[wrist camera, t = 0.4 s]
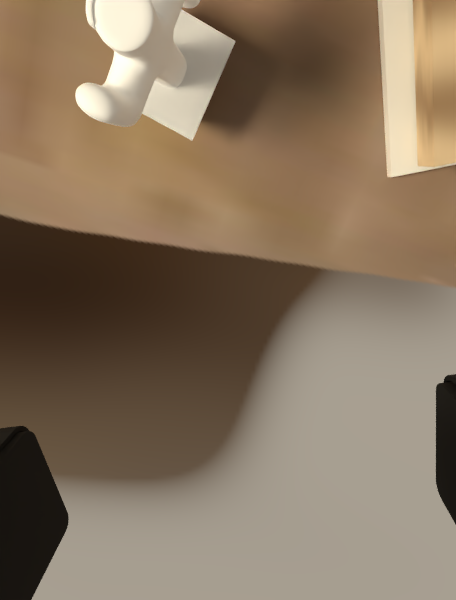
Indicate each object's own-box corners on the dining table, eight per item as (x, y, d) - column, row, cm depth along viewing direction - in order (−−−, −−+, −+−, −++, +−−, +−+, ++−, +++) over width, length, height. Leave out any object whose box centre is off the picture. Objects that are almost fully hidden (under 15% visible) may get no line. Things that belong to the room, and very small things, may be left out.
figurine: (243, 39, 30) (238, -68, 16) (192, 154, 33) (150, 151, 19) (159, -10, 29) (74, -170, 15) (115, 113, 32) (11, 77, 18)
